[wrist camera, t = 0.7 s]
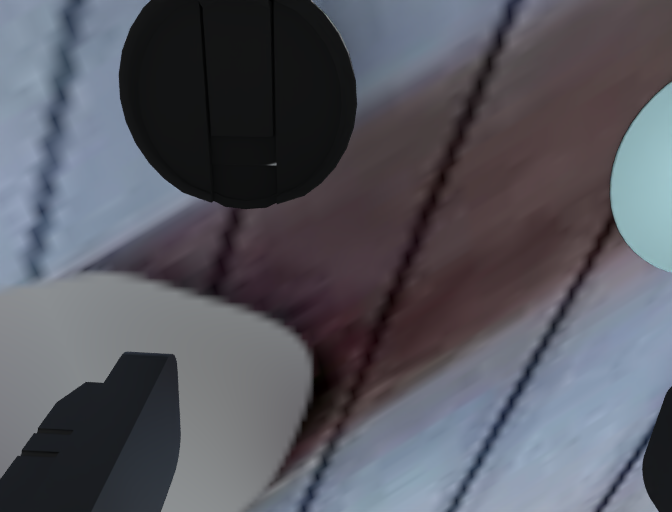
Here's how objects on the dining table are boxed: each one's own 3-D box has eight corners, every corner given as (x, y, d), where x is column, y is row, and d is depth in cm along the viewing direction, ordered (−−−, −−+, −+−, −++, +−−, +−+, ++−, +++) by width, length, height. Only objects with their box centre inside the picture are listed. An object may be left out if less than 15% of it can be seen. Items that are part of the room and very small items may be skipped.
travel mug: (347, 1, 31) (366, -51, 13) (344, 121, 34) (355, 226, 15) (235, -2, 31) (88, -58, 13) (240, 119, 34) (122, 221, 15)
